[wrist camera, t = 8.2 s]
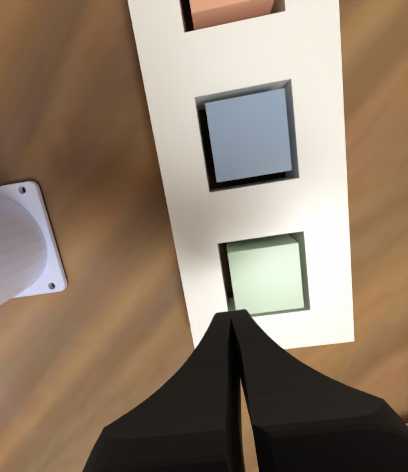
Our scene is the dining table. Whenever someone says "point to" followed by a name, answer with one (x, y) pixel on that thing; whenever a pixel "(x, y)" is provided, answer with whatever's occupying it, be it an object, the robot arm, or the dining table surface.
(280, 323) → the button panel
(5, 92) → the dining table surface
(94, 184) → the dining table surface
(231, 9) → the terracotta button
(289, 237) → the sage-green button
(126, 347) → the dining table surface
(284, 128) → the slate-blue button
